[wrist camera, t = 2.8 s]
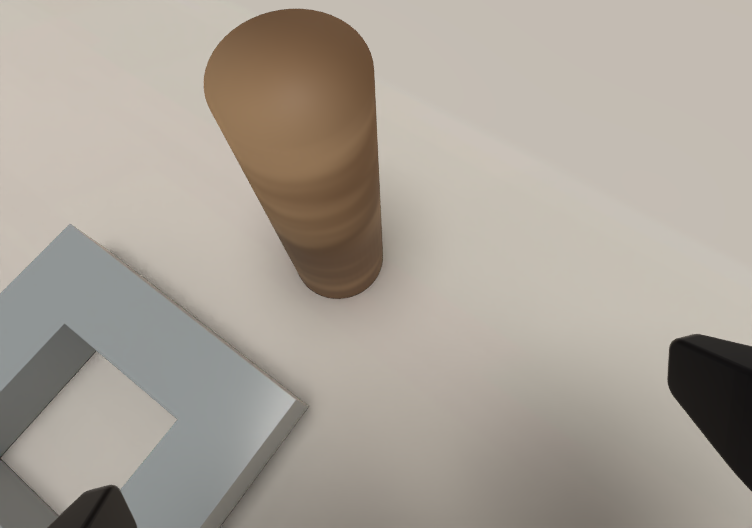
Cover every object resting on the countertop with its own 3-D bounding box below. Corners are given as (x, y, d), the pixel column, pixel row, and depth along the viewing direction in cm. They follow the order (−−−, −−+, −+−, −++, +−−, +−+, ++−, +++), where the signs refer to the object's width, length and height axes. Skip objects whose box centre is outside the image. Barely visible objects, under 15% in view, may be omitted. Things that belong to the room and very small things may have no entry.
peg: (347, 315, 22) (301, 178, 11) (278, 266, 23) (168, 91, 12) (400, 247, 23) (407, 56, 12) (331, 202, 24) (277, -15, 13)
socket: (96, 693, 18) (40, 739, 15) (-106, 475, 20) (-186, 480, 18) (308, 406, 21) (296, 399, 18) (108, 250, 23) (70, 223, 21)
